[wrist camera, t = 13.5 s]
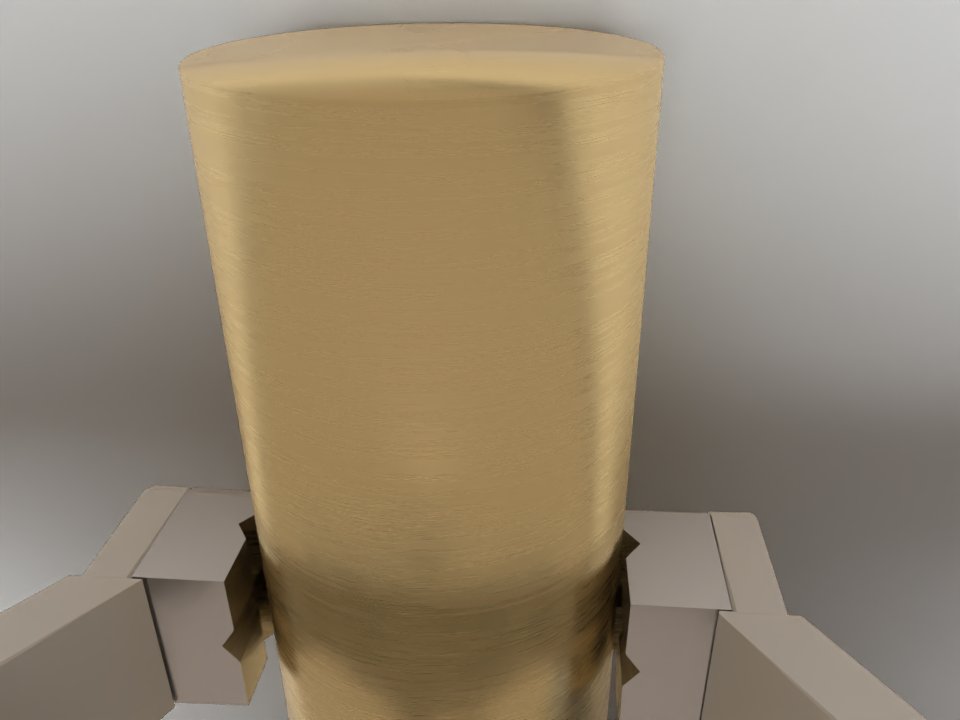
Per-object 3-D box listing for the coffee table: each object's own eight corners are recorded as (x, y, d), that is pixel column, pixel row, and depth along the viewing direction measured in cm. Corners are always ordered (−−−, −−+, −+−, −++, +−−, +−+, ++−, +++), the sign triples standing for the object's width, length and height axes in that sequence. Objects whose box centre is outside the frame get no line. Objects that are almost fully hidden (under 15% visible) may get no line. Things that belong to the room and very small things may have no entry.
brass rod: (584, 853, 15) (583, 1133, 12) (366, 831, 16) (304, 1095, 12) (649, 23, 9) (690, 104, 5) (272, 22, 9) (78, 97, 6)
